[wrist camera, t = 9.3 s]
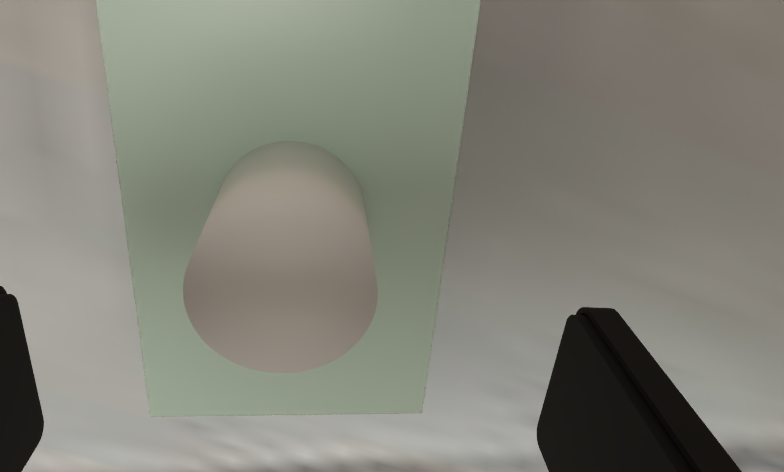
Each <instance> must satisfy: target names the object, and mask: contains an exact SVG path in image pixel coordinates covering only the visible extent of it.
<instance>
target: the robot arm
mask: <svg viewBox="0 0 784 472" xmlns="http://www.w3.org/2000/svg"><path fill="white" fill-rule="evenodd" d="M43 427H44V420H43V415H42V410H41V406H40V401H39V396H38V392H37V387H36V383H35V378H34V374H33V369H32V365H31V360H30V356H29V351H28V346H27V342H26V337H25V333H24V328H23V324H22V319H21V315H20V310H19V306H18V302H17V299H16V298H15V296H14V295H12V294H7V293H6V291H5V289H4V288H3V287H2V286H0V472H21V471H22V470H23V468H24V466H25V465H26V463H27V462H28V460H29V458H30V457H31V455H32V453H33V452H34V450H35V448H36V447H37V445H38V443H39V441H40V439H41V436H42V433H43ZM537 441H538V445H539V448H540V451H541V453H542V456H543V458H544V461H545V463H546V465H547V468H548V470H549V472H741V470H740V469H739V468H738V466H737V465H736V464H735V463H734V461H733V460H732V459H731V457H730V456H729V455H728V454H727V452H726V451H725V450H724V448H723V447H722V446H721V445H720V443H719V442H718V441H717V439H716V438H715V437H714V435H713V434H712V433H711V432H710V430H709V429H708V428H707V426H706V425H705V424H704V423H703V421H702V420H701V419H700V417H699V416H698V415H697V414H696V412H695V411H694V410H693V408H692V407H691V406H690V405H689V403H688V402H687V401H686V399H685V398H684V397H683V396H682V394H681V393H680V392H679V390H678V389H677V388H676V387H675V385H674V384H673V383H672V381H671V380H670V379H669V378H668V376H667V375H666V374H665V372H664V371H663V370H662V369H661V367H660V366H659V365H658V363H657V362H656V361H655V360H654V358H653V357H652V356H651V354H650V353H649V352H648V351H647V349H646V348H645V347H644V345H643V344H642V343H641V342H640V340H639V339H638V338H637V336H636V335H635V334H634V333H633V331H632V330H631V329H630V327H629V326H628V325H627V324H626V322H625V321H624V320H623V318H622V317H621V316H620V314H619V313H618V312H617V311H616V310H615V309H611V308H589V307H582V308H580V309H579V310H578V312H577V313H576V315H570V316H569V317H568V319H567V321H566V325H565V328H564V332H563V335H562V339H561V343H560V346H559V350H558V353H557V357H556V361H555V364H554V368H553V371H552V375H551V379H550V382H549V386H548V389H547V393H546V397H545V400H544V404H543V407H542V411H541V415H540V418H539V422H538V426H537Z"/></svg>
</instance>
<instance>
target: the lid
mask: <svg viewBox="0 0 784 472" xmlns="http://www.w3.org/2000/svg"><path fill="white" fill-rule="evenodd" d="M480 1H481V0H96V5H97V13H98V21H99V28H100V36H101V44H102V51H103V59H104V67H105V74H106V82H107V90H108V97H109V105H110V113H111V120H112V128H113V136H114V143H115V151H116V159H117V166H118V174H119V182H120V189H121V197H122V205H123V212H124V220H125V228H126V235H127V243H128V251H129V258H130V266H131V274H132V281H133V289H134V297H135V304H136V312H137V320H138V327H139V335H140V343H141V350H142V358H143V366H144V373H145V381H146V389H147V396H148V404H149V412H150V417H183V416H257V415H330V414H404V413H422V411H423V404H424V397H425V390H426V382H427V375H428V368H429V361H430V354H431V347H432V340H433V333H434V326H435V319H436V312H437V305H438V298H439V291H440V284H441V277H442V270H443V262H444V255H445V248H446V241H447V234H448V227H449V220H450V213H451V206H452V199H453V192H454V185H455V178H456V171H457V164H458V157H459V150H460V142H461V135H462V128H463V121H464V114H465V107H466V100H467V93H468V86H469V79H470V72H471V65H472V58H473V51H474V44H475V37H476V30H477V22H478V15H479V8H480Z"/></svg>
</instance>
